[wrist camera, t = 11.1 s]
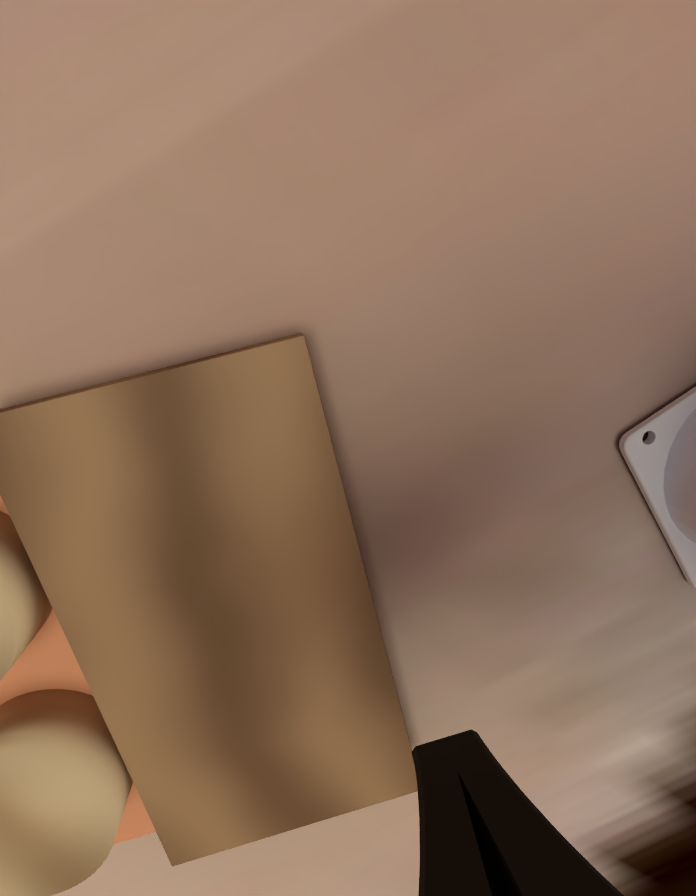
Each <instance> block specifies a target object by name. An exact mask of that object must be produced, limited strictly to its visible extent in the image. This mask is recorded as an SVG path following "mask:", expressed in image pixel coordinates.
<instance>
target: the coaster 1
mask: <svg viewBox="0 0 696 896" xmlns="http://www.w3.org/2000/svg"><path fill="white" fill-rule="evenodd" d="M51 611H52V606H51V604H50V601H49V599H48V597H47V595H46V593H45V591H44V589H43V586H42V584H41V582H40V580H39V578H38V576H37V573H36V571H35V569H34V567H33V565H32V563H31V560H30V558H29V556H28V554H27V552H26V550H25V548H24V545H23V543H22V541H21V539H20V537H19V535H18V532H17V530H16V528H15V526H14V524H13V522H12V519H11V517H10V516H9V515H8V514H6V513H4V512H2V511H0V681H1V680H2V678H3V677H4V676H5V674H6V673H7V672H8V671H9V669H10V668H11V667H12V665H13V664H14V663H15V661H16V660H17V659H18V658H19V656H20V655H21V654H22V652H23V651H24V650H25V648H26V647H27V646H28V645H29V643H30V642H31V641H32V639H33V638H34V637H35V635H36V634H37V633H38V632H39V630H40V629H41V628H42V626H43V625H44V624H45V622H46V621H47V619H48V617H49V615H50V613H51Z"/></svg>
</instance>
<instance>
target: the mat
mask: <svg viewBox="0 0 696 896" xmlns="http://www.w3.org/2000/svg"><path fill="white" fill-rule="evenodd" d="M0 511H2V512H4V513H6V514H8V515H9V513H8V511H7V509H6V506H5V504H4V502H3V500H2V498H1V496H0ZM9 516H10V515H9ZM45 689H65V690H73V691H78V692H83V693H86V694H89V695H92V696H93V694H92V692H91V690H90V688H89V686H88V684H87V681H86V679H85V677H84V675H83V673H82V671H81V668H80V666H79V664H78V662H77V660H76V658H75V655H74V653H73V651H72V649H71V647H70V645H69V642H68V640H67V638H66V636H65V634H64V632H63V630H62V627H61V625H60V623H59V621H58V619H57V617H56V614H55V612H54V610H53V608H52V611H51V613H50V615H49V617H48V619H47V621H46V622H45V624H44V625H43V626H42V628H41V629H40V630H39V632H38V633H37V634H36V635H35V637H34V638H33V639H32V641H31V642H30V643H29V645H28V646H27V647H26V648H25V650H24V651H23V652H22V654H21V655H20V656H19V658H18V659H17V660H16V661H15V663H14V664H13V665H12V667H11V668H10V669H9V671H8V672H7V673H6V674H5V676H4V677H3V678H2V680H1V681H0V705H2V704H3V703H5V702H6V701H8V700H10V699H12V698H14V697H17V696H19V695H22V694H25V693H29V692H33V691H38V690H45ZM153 832H156V830H155V828H154V826H153V824H152V822H151V820H150V817H149V815H148V813H147V811H146V809H145V807H144V804H143V802H142V800H141V798H140V796H139V794H138V791H137V789H136V787H135V785H134V783H133V784H132V787H131V790H130V793H129V796H128V799H127V802H126V805H125V808H124V811H123V814H122V818H121V821H120V824H119V827H118V830H117V833H116V836H115V839H114V842H113V844H117V843H120V842H123V841H126V840H130V839H133V838H136V837H140V836H143V835H146V834H150V833H153Z"/></svg>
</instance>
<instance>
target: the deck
mask: <svg viewBox="0 0 696 896" xmlns="http://www.w3.org/2000/svg"><path fill="white" fill-rule="evenodd" d="M0 496H1V498H2V500H3V502H4V504H5V506H6V509H7V511H8V513H9V515H10V517H11V519H12V522H13V524H14V526H15V528H16V530H17V532H18V535H19V537H20V539H21V541H22V543H23V545H24V548H25V550H26V552H27V554H28V556H29V558H30V560H31V563H32V565H33V567H34V569H35V571H36V573H37V576H38V578H39V580H40V582H41V584H42V586H43V589H44V591H45V593H46V595H47V597H48V599H49V601H50V604H51V606H52V608H53V610H54V612H55V614H56V617H57V619H58V621H59V623H60V625H61V627H62V630H63V632H64V634H65V636H66V638H67V640H68V642H69V645H70V647H71V649H72V651H73V653H74V655H75V658H76V660H77V662H78V664H79V666H80V668H81V671H82V673H83V675H84V677H85V679H86V681H87V684H88V686H89V688H90V690H91V692H92V694H93V696H94V699H95V701H96V703H97V705H98V707H99V709H100V712H101V714H102V716H103V718H104V720H105V722H106V725H107V727H108V729H109V731H110V733H111V735H112V737H113V740H114V742H115V744H116V746H117V748H118V750H119V753H120V755H121V757H122V759H123V761H124V763H125V766H126V768H127V770H128V772H129V774H130V776H131V779H132V781H133V783H134V785H135V787H136V789H137V791H138V794H139V796H140V798H141V800H142V802H143V804H144V807H145V809H146V811H147V813H148V815H149V817H150V820H151V822H152V824H153V826H154V828H155V830H156V832H157V835H158V837H159V839H160V841H161V843H162V845H163V848H164V850H165V852H166V854H167V856H168V858H169V861H170V863H171V865H172V866H175V865H178V864H182V863H185V862H188V861H191V860H195V859H198V858H201V857H205V856H208V855H211V854H214V853H218V852H221V851H224V850H227V849H231V848H234V847H237V846H240V845H244V844H247V843H250V842H253V841H257V840H260V839H263V838H266V837H270V836H273V835H276V834H279V833H283V832H286V831H289V830H293V829H296V828H299V827H302V826H306V825H309V824H312V823H315V822H319V821H322V820H325V819H328V818H332V817H335V816H338V815H341V814H345V813H348V812H351V811H354V810H358V809H361V808H364V807H368V806H371V805H374V804H377V803H381V802H384V801H387V800H390V799H394V798H397V797H400V796H403V795H407V794H410V793H413V792H416V791H418V788H417V779H416V772H415V766H414V761H413V757H412V753H411V752H412V749H411V745H410V742H409V738H408V734H407V730H406V726H405V722H404V719H403V715H402V711H401V707H400V703H399V699H398V695H397V692H396V688H395V684H394V680H393V676H392V672H391V669H390V665H389V661H388V657H387V653H386V649H385V646H384V642H383V638H382V634H381V630H380V626H379V623H378V619H377V615H376V611H375V607H374V603H373V599H372V596H371V592H370V588H369V584H368V580H367V576H366V573H365V569H364V565H363V561H362V557H361V553H360V550H359V546H358V542H357V538H356V534H355V530H354V527H353V523H352V519H351V515H350V511H349V507H348V504H347V500H346V496H345V492H344V488H343V484H342V480H341V477H340V473H339V469H338V465H337V461H336V457H335V454H334V450H333V446H332V442H331V438H330V434H329V431H328V427H327V423H326V419H325V415H324V411H323V408H322V404H321V400H320V396H319V392H318V388H317V384H316V381H315V377H314V373H313V369H312V365H311V361H310V358H309V354H308V350H307V346H306V342H305V338H304V335H303V334H302V333H300V334H296V335H292V336H288V337H284V338H280V339H276V340H272V341H268V342H264V343H260V344H256V345H252V346H249V347H245V348H241V349H237V350H233V351H229V352H225V353H221V354H217V355H213V356H209V357H205V358H201V359H197V360H194V361H190V362H186V363H182V364H178V365H174V366H170V367H166V368H162V369H158V370H154V371H150V372H146V373H142V374H138V375H135V376H131V377H127V378H123V379H119V380H115V381H111V382H107V383H103V384H99V385H95V386H91V387H87V388H83V389H80V390H76V391H72V392H68V393H64V394H60V395H56V396H52V397H48V398H44V399H40V400H36V401H32V402H28V403H25V404H21V405H17V406H13V407H9V408H5V409H1V410H0Z"/></svg>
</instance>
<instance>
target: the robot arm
mask: <svg viewBox="0 0 696 896" xmlns="http://www.w3.org/2000/svg"><path fill="white" fill-rule="evenodd" d="M647 431H648V437H647V439H646V440H645V441H643V440H642V437H643V435H644V434H645V433H646V432H647ZM619 448H620V451H621V453H622V455H623V457H624V459H625V461H626V463H627V465H628V467H629V469H630V471H631V473H632V474H633V476H634V478H635V480H636V482H637V484H638V486H639V488H640V490H641V492H642V494H643V496H644V498H645V500H646V502H647V504H648V506H649V508H650V509H651V511H652V513H653V515H654V517H655V519H656V521H657V523H658V525H659V527H660V529H661V531H662V533H663V535H664V537H665V539H666V541H667V542H668V544H669V546H670V548H671V550H672V552H673V554H674V556H675V558H676V560H677V562H678V564H679V566H680V568H681V570H682V572H683V574H684V576H685V577H686V579H687V581H688V583H689V584H690V585H691V586H692V587H694V588H695V589H696V386H695V387H694V388H692V389H691V390H689V391H688V392H686V393H685V394H683V395H682V396H680V397H679V398H677V399H676V400H674V401H673V402H671V403H670V404H668V405H667V406H665V407H664V408H662V409H661V410H659V411H658V412H656V413H655V414H653V415H652V416H650V417H649V418H647V419H646V420H644V421H643V422H641V423H640V424H638V425H637V426H635V427H634V428H632V429H631V430H629V431H628V432H626V433H625V434H624V435H623V436H622V437H621V439H620V442H619ZM411 753H412V757H413V761H414V766H415V772H416V779H417V788H418V800H419V817H420V876H419V896H624V895H623V894H621V893H620V892H619V891H618V890H617V889H616V888H615V887H614V886H613V885H612V884H611V883H610V882H609V881H607V880H606V879H605V878H604V877H603V876H602V875H601V874H600V873H599V872H598V871H597V870H596V869H595V868H594V867H593V866H592V865H591V864H590V863H589V862H588V861H587V860H586V859H585V858H584V857H583V856H582V855H581V854H580V853H579V852H578V851H577V850H576V849H575V848H574V847H573V846H572V845H571V844H570V843H569V842H568V841H567V840H566V839H565V838H564V837H563V836H562V835H561V834H560V833H559V832H558V831H557V830H556V828H555V827H554V826H553V825H552V824H551V823H550V822H549V821H548V820H547V819H546V818H545V816H544V815H543V814H542V813H541V812H540V811H539V810H538V809H537V808H536V807H535V805H534V804H533V803H532V802H531V801H530V800H529V799H528V798H527V796H526V795H525V794H524V793H523V792H522V791H521V790H520V788H519V787H518V786H517V785H516V784H515V782H514V781H513V780H512V779H511V777H510V776H509V775H508V774H507V773H506V771H505V770H504V769H503V768H502V766H501V765H500V764H499V762H498V761H497V760H496V759H495V757H494V756H493V755H492V753H491V752H490V751H489V749H488V748H487V746H486V745H485V743H484V742H483V741H482V739H481V738H480V736H479V734H478V733H477V732H475V731H473V730H468V731H465V732H462V733H458V734H455V735H452V736H448V737H445V738H442V739H438V740H435V741H432V742H429V743H425V744H422V745H419V746H415V748H414V749H413V751H412V752H411Z"/></svg>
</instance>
